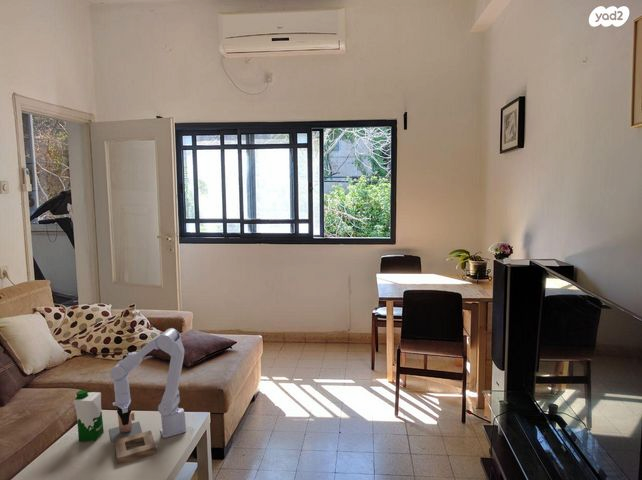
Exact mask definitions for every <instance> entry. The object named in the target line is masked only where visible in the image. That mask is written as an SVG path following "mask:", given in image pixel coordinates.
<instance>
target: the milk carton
mask: <svg viewBox="0 0 642 480" xmlns="http://www.w3.org/2000/svg"><path fill="white" fill-rule="evenodd" d="M73 405H74V408H75V412H76V414H75V415H76V422H77V423H76V424H77V437H78V442H96V441H97V440H98V439H99V438H100V437H101V436H102V435H103V434H104V421H103V412H102V392H97V391H93V392H91V391H90V392H88V390H87V389H81V390H78V391H77V392H76V397H75V399H74V400H73Z"/></svg>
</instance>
